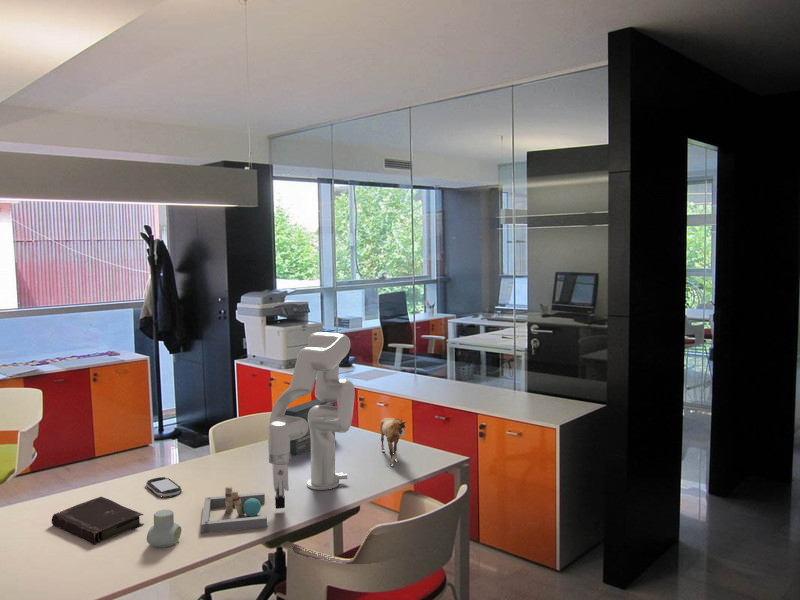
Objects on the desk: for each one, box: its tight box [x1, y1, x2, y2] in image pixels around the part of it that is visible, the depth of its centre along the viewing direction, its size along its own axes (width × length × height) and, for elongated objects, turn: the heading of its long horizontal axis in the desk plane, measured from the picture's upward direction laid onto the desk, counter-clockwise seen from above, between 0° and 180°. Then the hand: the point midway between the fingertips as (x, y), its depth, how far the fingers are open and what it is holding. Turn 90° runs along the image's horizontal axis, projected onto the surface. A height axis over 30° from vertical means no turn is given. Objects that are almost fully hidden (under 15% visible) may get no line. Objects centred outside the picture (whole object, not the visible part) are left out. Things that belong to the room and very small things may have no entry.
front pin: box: [231, 490, 246, 517], centre depth 224 cm, size 2×2×9 cm
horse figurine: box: [379, 416, 407, 465], centre depth 285 cm, size 31×8×21 cm, turn 10°
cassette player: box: [285, 398, 336, 456], centre depth 302 cm, size 29×7×20 cm, turn 149°
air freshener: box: [146, 509, 182, 548], centre depth 203 cm, size 11×8×10 cm
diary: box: [51, 496, 145, 546], centre depth 217 cm, size 19×25×5 cm
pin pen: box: [200, 492, 268, 534], centre depth 224 cm, size 21×23×3 cm
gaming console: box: [145, 476, 182, 498], centre depth 249 cm, size 19×9×3 cm, turn 40°
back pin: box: [224, 485, 234, 514], centre depth 228 cm, size 2×2×9 cm
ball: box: [243, 498, 262, 517], centre depth 225 cm, size 6×6×6 cm
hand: (280, 507), depth 228 cm, fingers closed
